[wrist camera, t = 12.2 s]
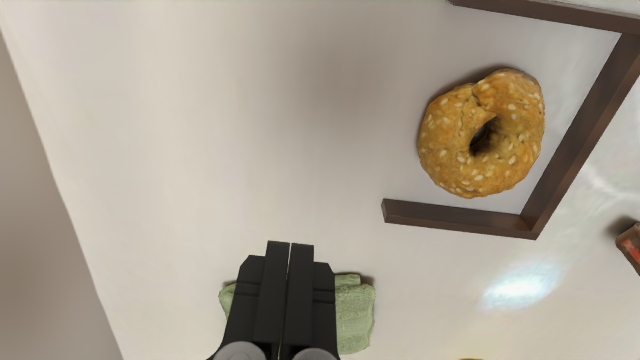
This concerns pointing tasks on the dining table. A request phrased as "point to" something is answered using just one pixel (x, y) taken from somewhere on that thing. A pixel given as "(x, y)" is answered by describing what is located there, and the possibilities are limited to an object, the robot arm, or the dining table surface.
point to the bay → (585, 131)
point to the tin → (631, 245)
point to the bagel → (496, 146)
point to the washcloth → (339, 312)
